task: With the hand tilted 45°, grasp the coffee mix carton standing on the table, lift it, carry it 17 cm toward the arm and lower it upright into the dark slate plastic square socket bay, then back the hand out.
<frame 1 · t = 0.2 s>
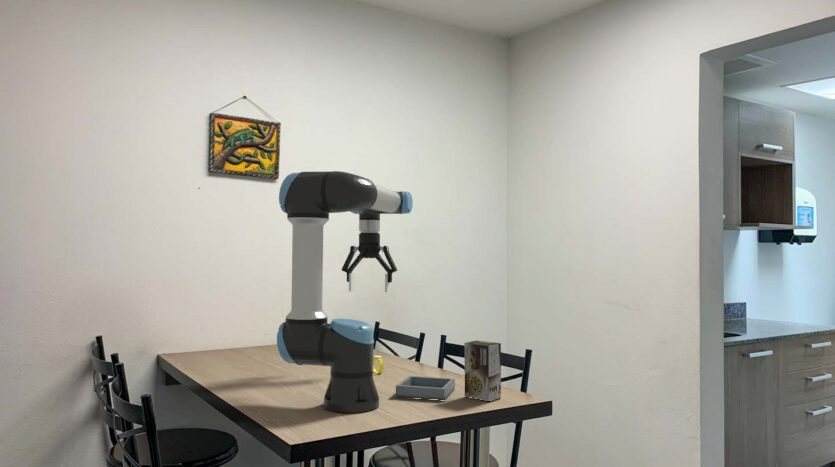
hand: (369, 291, 220), 28 cm above the table, tool pointing down, fingers open, 13 cm apart
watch: (377, 373, 214), on the table
socket bay: (426, 393, 183), on the table
coffee box: (482, 398, 179), on the table
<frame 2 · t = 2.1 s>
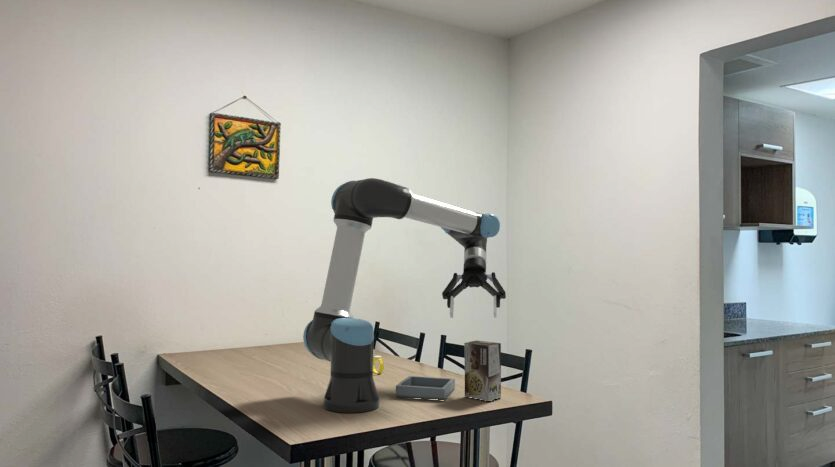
hand: (473, 315, 191), 23 cm above the table, tool tilted 45°, fingers open, 13 cm apart
nothing on the table moved.
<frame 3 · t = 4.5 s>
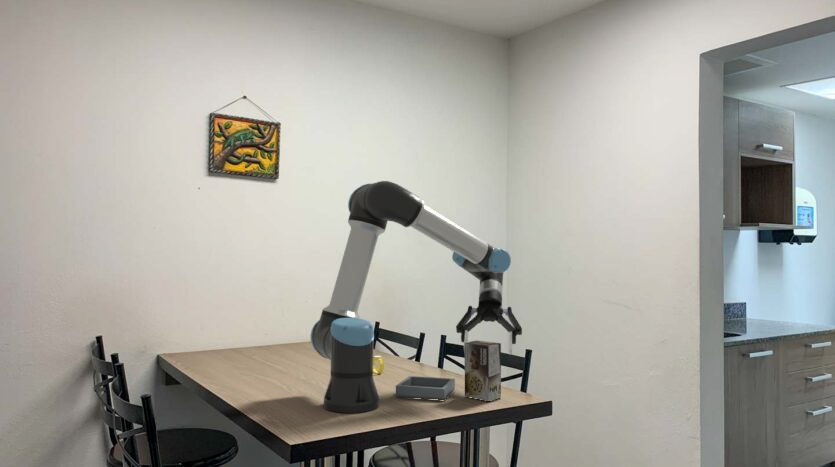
hand: (487, 351, 185), 13 cm above the table, tool tilted 45°, fingers open, 13 cm apart
nothing on the table moved.
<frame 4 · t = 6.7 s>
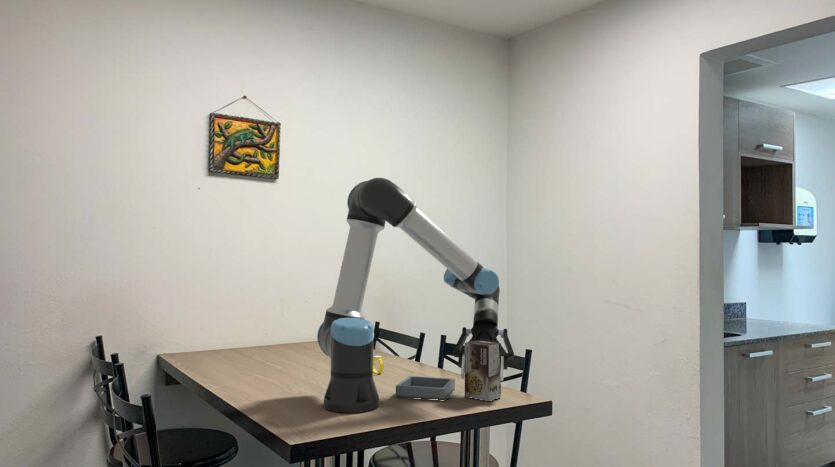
hand: (482, 377, 176), 7 cm above the table, tool tilted 45°, fingers closed on coffee box, 11 cm apart
coffee box: (482, 398, 179), on the table, touching gripper
everything else where it was.
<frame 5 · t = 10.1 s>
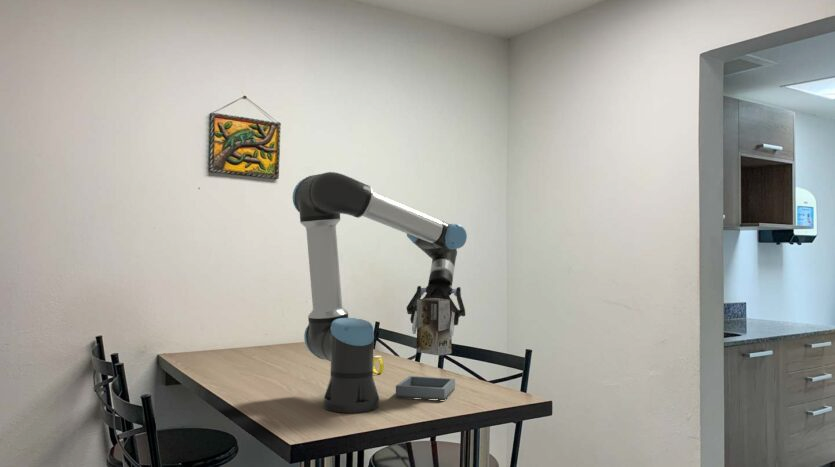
hand: (432, 331, 180), 19 cm above the table, tool tilted 45°, fingers closed on coffee box, 11 cm apart
coffee box: (433, 353, 183), point 12 cm above the table, touching gripper
everything else where it was.
when the fingers open (9 cm above the table, at t = 13.5 s): coffee box drops 1 cm, resting on socket bay.
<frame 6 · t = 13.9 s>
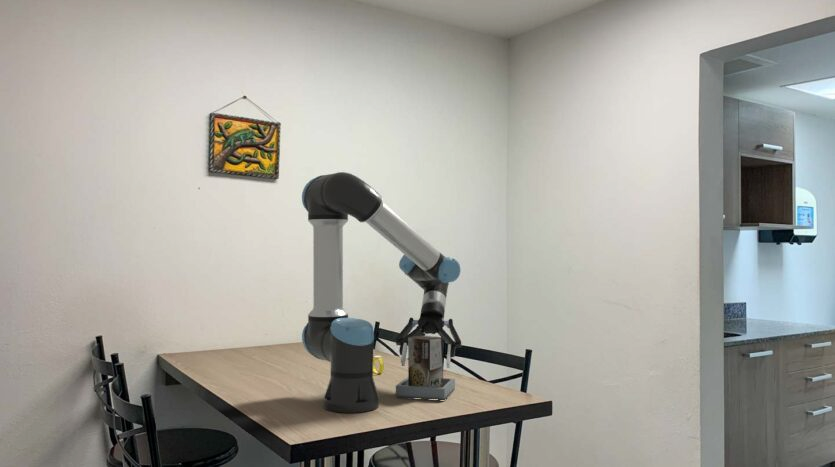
hand: (425, 364, 181), 9 cm above the table, tool tilted 45°, fingers open, 13 cm apart
coffee box: (425, 391, 183), point 1 cm above the table, touching socket bay
everything else where it was.
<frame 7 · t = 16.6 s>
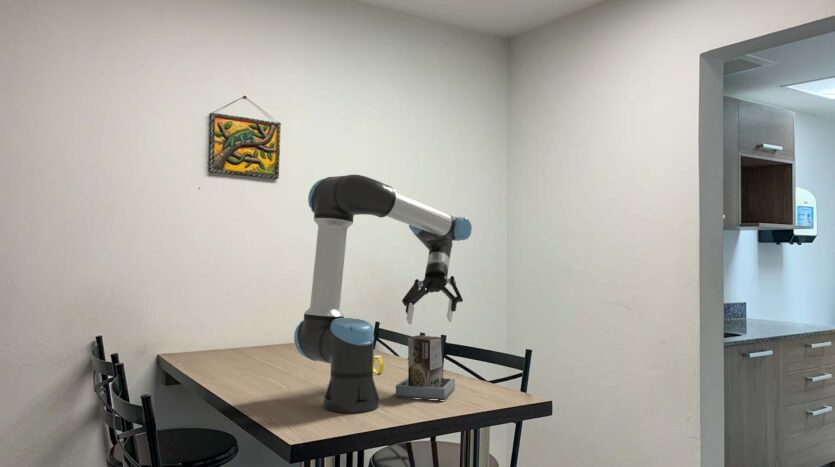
hand: (428, 320, 194), 21 cm above the table, tool tilted 40°, fingers open, 13 cm apart
nothing on the table moved.
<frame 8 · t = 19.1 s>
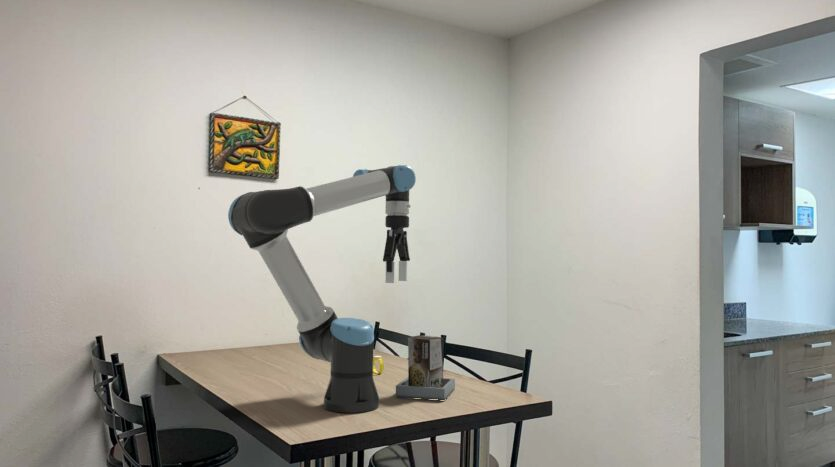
hand: (396, 282, 195), 33 cm above the table, tool pointing down, fingers open, 13 cm apart
nothing on the table moved.
at the end: coffee box 0.2 cm off-centre on the socket bay, point 0.6 cm above the socket bay's base; coffee box tilted 0°; the gripper is holding nothing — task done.
